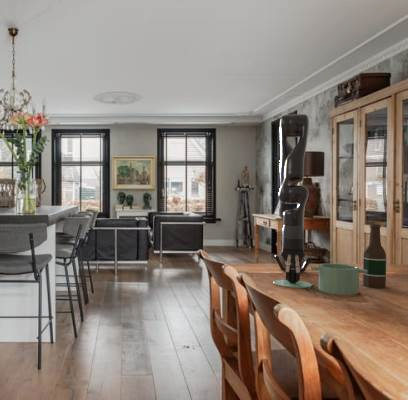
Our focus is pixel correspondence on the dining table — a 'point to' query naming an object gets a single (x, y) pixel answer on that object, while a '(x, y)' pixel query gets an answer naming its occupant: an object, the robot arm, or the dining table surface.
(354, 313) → the dining table surface
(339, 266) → the pot
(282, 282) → the lid
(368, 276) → the beer bottle
